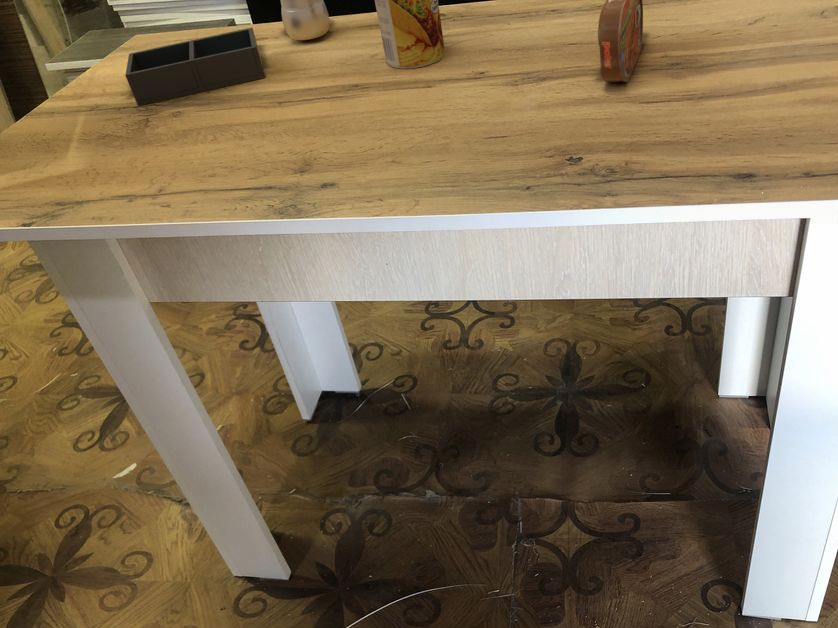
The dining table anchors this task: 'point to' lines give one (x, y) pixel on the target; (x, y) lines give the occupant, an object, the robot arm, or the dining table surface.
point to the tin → (620, 38)
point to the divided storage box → (194, 66)
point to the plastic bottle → (305, 18)
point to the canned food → (410, 32)
